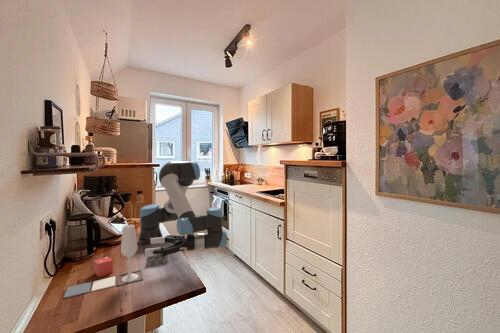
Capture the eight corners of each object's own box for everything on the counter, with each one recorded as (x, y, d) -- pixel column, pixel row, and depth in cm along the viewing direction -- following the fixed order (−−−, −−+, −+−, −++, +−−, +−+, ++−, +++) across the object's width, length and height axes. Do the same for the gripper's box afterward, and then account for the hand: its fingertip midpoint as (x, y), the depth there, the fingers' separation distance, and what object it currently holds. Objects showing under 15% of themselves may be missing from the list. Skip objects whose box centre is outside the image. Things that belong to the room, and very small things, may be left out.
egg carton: (168, 257, 124) (168, 250, 124) (167, 263, 117) (167, 256, 117) (147, 260, 121) (147, 253, 121) (145, 266, 114) (145, 258, 114)
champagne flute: (118, 281, 100) (116, 228, 99) (128, 273, 107) (127, 223, 106) (131, 282, 99) (129, 228, 98) (141, 274, 105) (139, 224, 105)
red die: (108, 268, 112) (108, 255, 112) (112, 272, 108) (112, 258, 108) (94, 273, 107) (93, 259, 107) (98, 277, 104) (97, 263, 103)
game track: (141, 270, 110) (141, 269, 110) (142, 280, 101) (142, 279, 101) (68, 287, 96) (68, 286, 96) (62, 299, 87) (62, 298, 87)
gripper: (195, 260, 97) (142, 266, 92) (194, 240, 121) (152, 244, 116) (195, 243, 97) (142, 248, 92) (194, 226, 121) (152, 230, 116)
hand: (147, 246), depth 104 cm, fingers open, 13 cm apart
